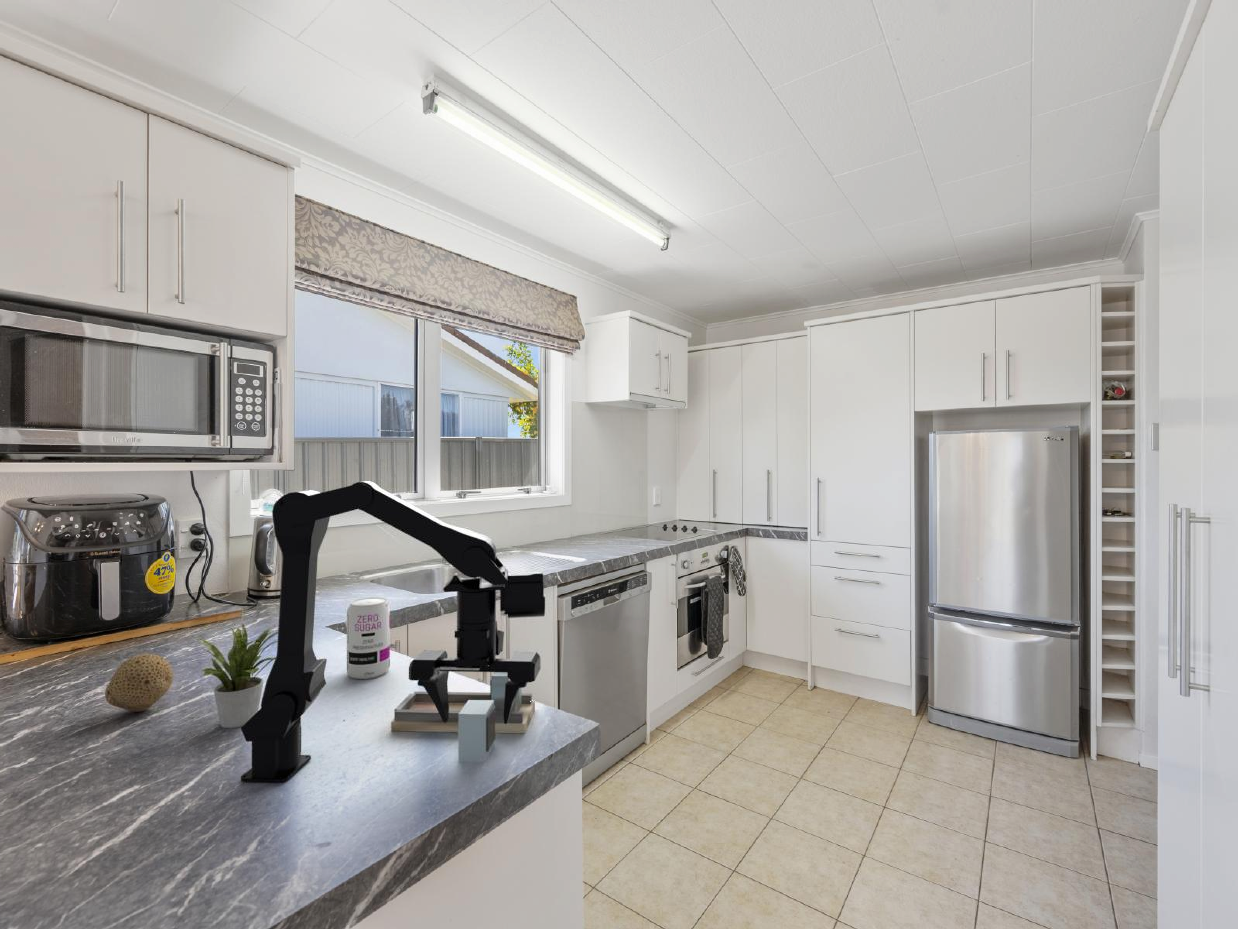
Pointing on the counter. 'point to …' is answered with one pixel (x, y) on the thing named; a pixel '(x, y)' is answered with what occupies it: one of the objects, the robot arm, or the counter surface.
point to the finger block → (476, 730)
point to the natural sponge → (139, 682)
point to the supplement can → (368, 638)
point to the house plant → (238, 678)
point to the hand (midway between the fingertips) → (476, 722)
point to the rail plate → (425, 717)
